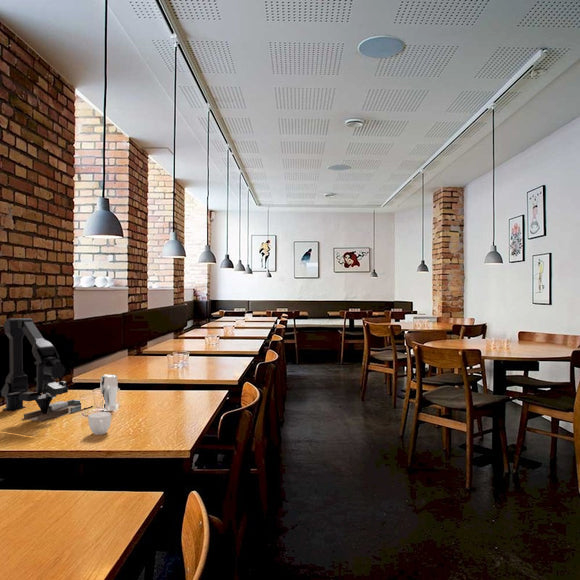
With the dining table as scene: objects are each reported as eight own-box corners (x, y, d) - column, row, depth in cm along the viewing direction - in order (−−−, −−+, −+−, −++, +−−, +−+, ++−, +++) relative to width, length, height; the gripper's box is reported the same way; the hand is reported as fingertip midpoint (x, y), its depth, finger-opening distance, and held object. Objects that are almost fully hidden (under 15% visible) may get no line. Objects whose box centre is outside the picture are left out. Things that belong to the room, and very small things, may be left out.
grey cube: (44, 414, 196) (44, 405, 196) (53, 412, 200) (52, 403, 200) (51, 416, 194) (51, 406, 194) (59, 413, 198) (59, 404, 198)
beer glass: (120, 408, 208) (120, 374, 208) (113, 412, 201) (113, 377, 201) (105, 408, 209) (105, 374, 209) (97, 412, 202) (97, 377, 202)
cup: (110, 428, 179) (110, 410, 178) (112, 436, 170) (112, 417, 169) (87, 431, 175) (87, 413, 175) (89, 439, 166) (89, 420, 166)
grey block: (52, 412, 200) (52, 403, 200) (60, 410, 203) (60, 401, 203) (59, 413, 198) (59, 404, 198) (67, 411, 202) (67, 401, 202)
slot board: (20, 419, 190) (20, 413, 190) (72, 405, 214) (72, 399, 214) (42, 423, 186) (42, 416, 186) (93, 407, 210) (93, 401, 210)
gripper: (38, 381, 182) (38, 421, 182) (77, 373, 199) (77, 410, 199) (18, 379, 186) (18, 418, 186) (58, 371, 203) (58, 408, 203)
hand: (44, 413), depth 193 cm, fingers closed
